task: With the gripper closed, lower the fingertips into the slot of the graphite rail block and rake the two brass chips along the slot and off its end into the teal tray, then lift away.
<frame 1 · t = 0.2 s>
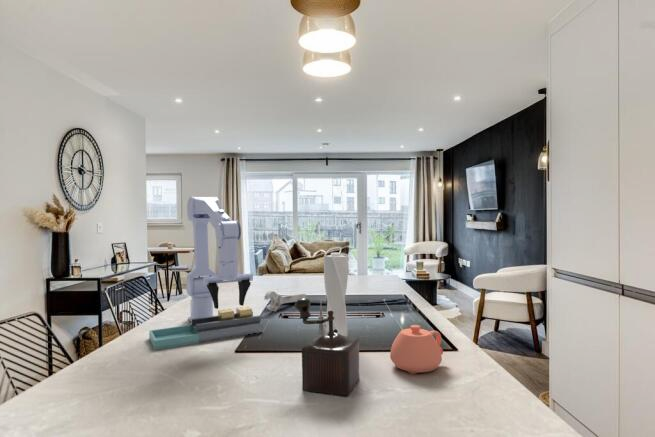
hand: (229, 306, 125), 10 cm above the kitchen island, fingers open, 7 cm apart
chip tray: (173, 340, 125), on the kitchen island
wrench: (286, 307, 170), on the kitchen island
brown manual coffee grinder: (321, 383, 93), on the kitchen island
chip a: (244, 320, 136), point 3 cm above the kitchen island, touching slot block
slot block: (226, 332, 133), on the kitchen island
sugar bowl: (418, 367, 102), on the kitchen island
skyscraper: (335, 343, 123), on the kitchen island
chip b: (226, 323, 133), point 3 cm above the kitchen island, touching slot block
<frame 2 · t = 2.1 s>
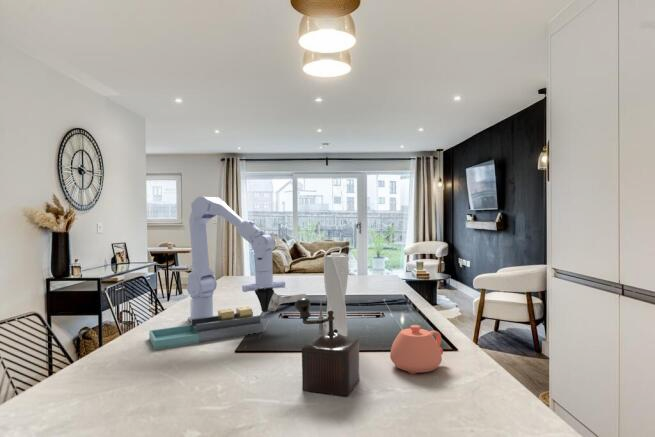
hand: (264, 311, 139), 5 cm above the kitchen island, fingers closed
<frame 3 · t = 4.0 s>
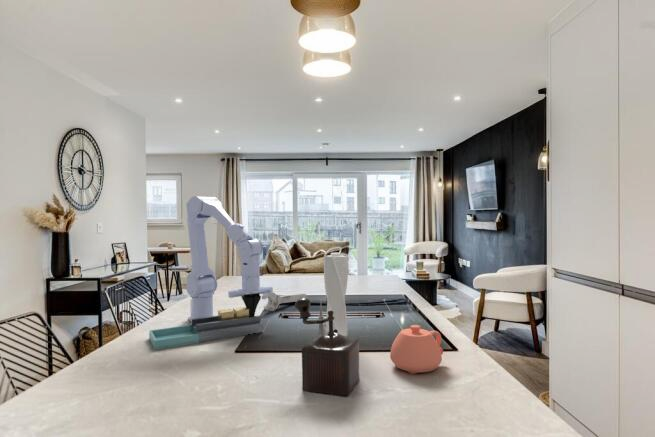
hand: (251, 317, 137), 4 cm above the kitchen island, fingers closed
chip a: (241, 321, 135), point 3 cm above the kitchen island, touching gripper, slot block
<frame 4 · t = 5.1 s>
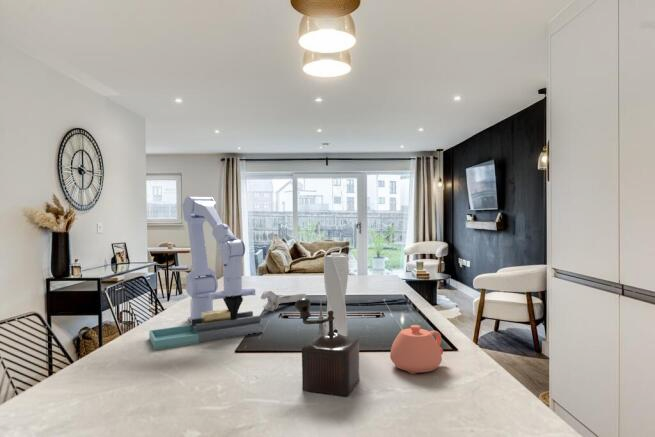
hand: (233, 319, 134), 4 cm above the kitchen island, fingers closed
chip a: (222, 323, 132), point 3 cm above the kitchen island, touching chip b, gripper
chip b: (209, 325, 130), point 3 cm above the kitchen island, touching chip a
everything else where it was.
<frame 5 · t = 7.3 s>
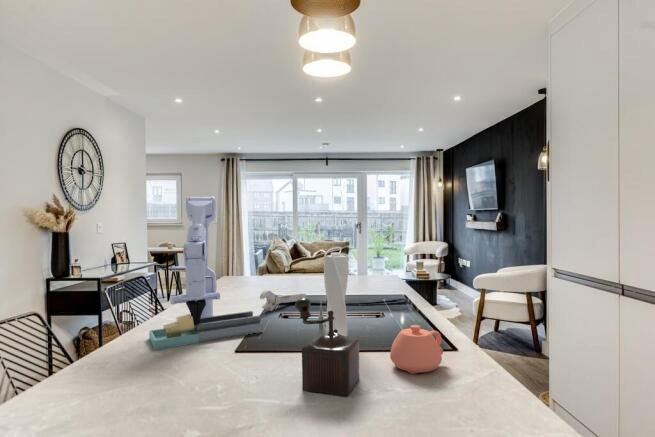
hand: (196, 324, 128), 4 cm above the kitchen island, fingers closed
chip a: (186, 329, 127), point 3 cm above the kitchen island, tilted 9°, touching chip b, gripper
chip b: (179, 329, 126), point 3 cm above the kitchen island, tilted 99°, touching chip a
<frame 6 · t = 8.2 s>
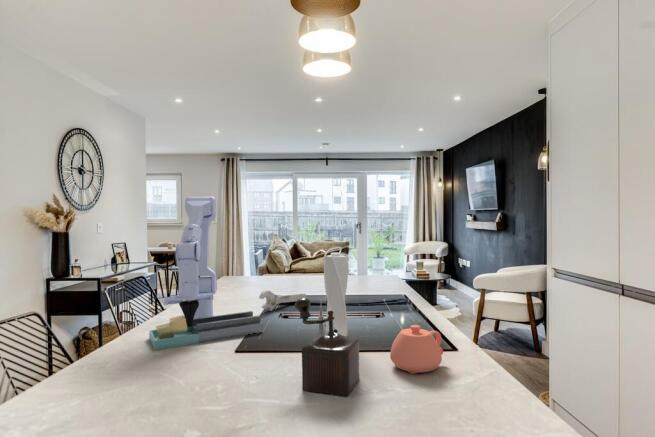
hand: (189, 325, 127), 4 cm above the kitchen island, fingers closed
chip a: (179, 331, 126), point 3 cm above the kitchen island, tilted 8°, touching chip b, gripper
chip b: (172, 330, 125), point 3 cm above the kitchen island, tilted 98°, touching chip a, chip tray
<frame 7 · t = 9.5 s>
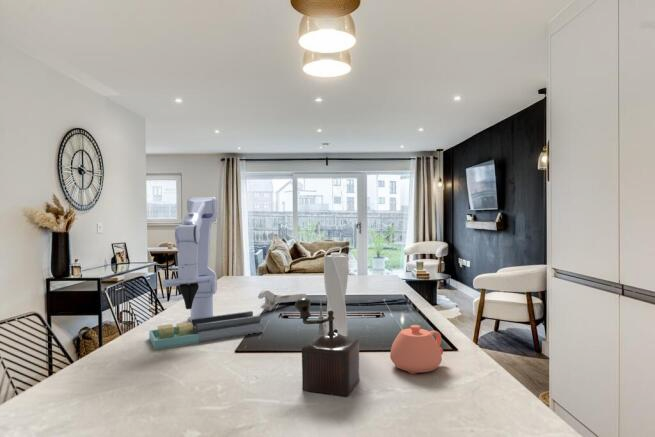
hand: (188, 308, 127), 9 cm above the kitchen island, fingers closed
chip a: (184, 337, 126), point 1 cm above the kitchen island, touching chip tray
chip b: (172, 332, 125), point 3 cm above the kitchen island, tilted 90°, touching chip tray
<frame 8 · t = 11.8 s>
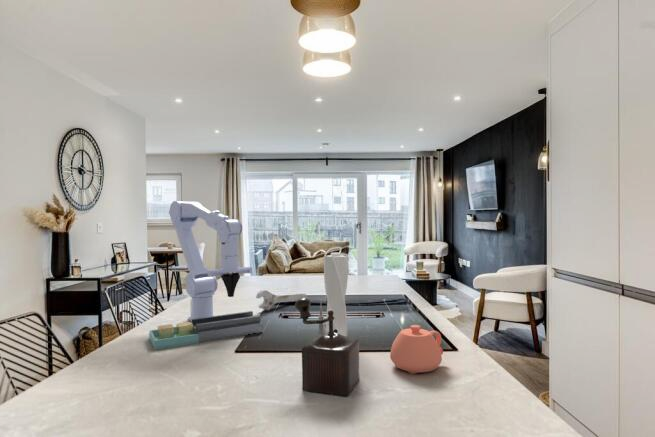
hand: (230, 296, 139), 10 cm above the kitchen island, fingers closed
at the end: chip a inside the target area on the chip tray (3.5 cm from its centre), point 0.6 cm above the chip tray's base; chip b inside the target area on the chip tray (0.2 cm from its centre), point 2.6 cm above the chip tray's base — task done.
